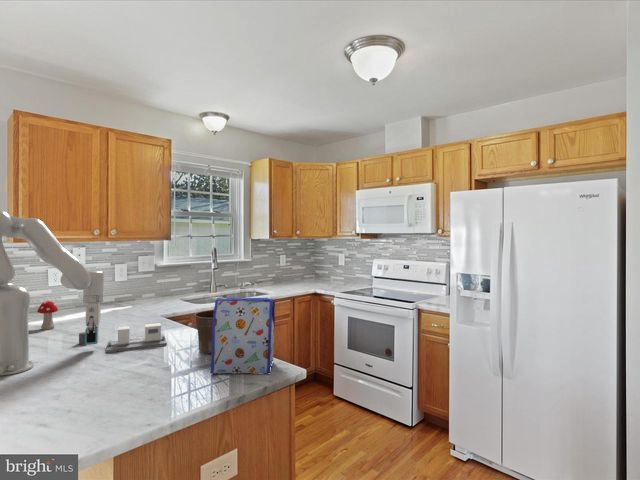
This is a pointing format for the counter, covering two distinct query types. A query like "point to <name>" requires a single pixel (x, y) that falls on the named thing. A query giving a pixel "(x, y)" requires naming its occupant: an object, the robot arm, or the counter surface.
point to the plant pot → (205, 330)
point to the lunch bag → (243, 335)
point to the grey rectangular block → (82, 338)
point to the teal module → (96, 336)
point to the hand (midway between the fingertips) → (91, 340)
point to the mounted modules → (150, 333)
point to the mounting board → (135, 345)
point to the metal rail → (133, 342)
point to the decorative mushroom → (47, 314)
